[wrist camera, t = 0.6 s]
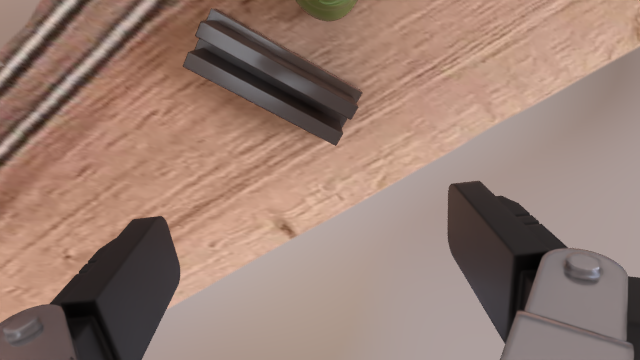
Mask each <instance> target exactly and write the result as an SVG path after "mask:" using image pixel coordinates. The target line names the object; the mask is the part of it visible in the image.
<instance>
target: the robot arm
mask: <svg viewBox="0 0 640 360" xmlns="http://www.w3.org/2000/svg"><path fill="white" fill-rule="evenodd" d="M448 242H449V247H450V250H451V253H452V255H453V257H454V259H455V261H456V262H457V264H458V265H459V267H460V269H461V271H462V272H463V274H464V275H465V277H466V279H467V281H468V282H469V284H470V286H471V288H472V289H473V291H474V293H475V294H476V296H477V298H478V299H479V301H480V302H481V304H482V306H483V308H484V309H485V311H486V312H487V314H488V316H489V318H490V319H491V321H492V323H493V324H494V326H495V328H496V329H497V331H498V333H499V334H500V336H501V338H502V339H503V341H504V343H505V347H504V350H503V353H502V355H501V358H500V360H640V278H636V277H629V276H628V275H627V273H626V271H625V270H624V269H623V267H621V266H620V265H619V264H618V263H617V262H615V261H614V260H612V259H610V258H608V257H606V256H603V255H601V254H598V253H595V252H592V251H588V250H583V249H574V248H568V247H566V246H565V245H564V244H563V243H562V242H561V241H560V240H559V239H558V238H556V237H555V236H554V235H553V234H552V233H551V232H550V231H549V230H547V229H546V228H545V227H544V226H543V225H542V224H539V221H538V220H536V219H535V218H534V217H533V216H532V215H530V214H529V212H527V211H526V210H525V209H524V208H523V207H522V206H521V205H519V203H516V202H514V201H512V200H510V199H507V198H505V197H503V196H495V195H494V194H493V193H492V192H491V191H489V190H488V189H487V188H486V187H485V186H484V185H483V184H482V183H481V182H480V181H472V182H463V183H455V184H451V185H450V186H449V191H448ZM179 280H180V265H179V261H178V257H177V254H176V251H175V247H174V244H173V241H172V237H171V234H170V231H169V228H168V224H167V222H166V220H165V219H164V218H163V217H162V216H158V217H149V218H140V219H134V220H132V221H131V222H130V223H129V224H128V226H127V227H126V228H125V229H124V230H123V231H122V232H121V234H120V235H119V236H118V237H117V238H115V239H114V240H112V241H111V242H109V243H108V244H106V245H105V246H103V247H102V248H100V249H99V250H98V251H97V252H96V253H95V254H94V255H93V257H92V258H91V259H90V260H89V261H88V264H85V265H84V267H83V268H82V269H81V270H80V271H79V274H76V275H75V276H74V278H73V279H72V280H71V281H70V282H69V283H68V284H67V285H66V286H65V287H64V289H63V290H62V291H61V292H60V293H59V294H58V295H57V296H56V297H55V298H54V300H53V301H52V302H51V303H50V304H46V305H40V306H36V307H32V308H29V309H26V310H24V311H21V312H19V313H17V314H15V315H13V316H11V317H9V318H8V319H6V320H4V321H3V322H1V323H0V360H142V358H143V355H144V353H145V351H146V349H147V347H148V345H149V343H150V341H151V339H152V337H153V335H154V333H155V331H156V329H157V327H158V325H159V323H160V321H161V318H162V317H163V315H164V313H165V311H166V309H167V307H168V305H169V303H170V301H171V299H172V297H173V295H174V292H175V290H176V288H177V286H178V284H179Z"/></svg>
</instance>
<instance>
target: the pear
mask: <svg viewBox="0 0 640 360" xmlns="http://www.w3.org/2000/svg"><path fill="white" fill-rule="evenodd" d="M296 1H297V3H298V4H299V5H300V6H301V8H302V9H303V10H305V11H306V12H307V13H308V14H310V15H311V16H313V17H315V18H317V19H319V20H323V21H334V20H338V19H340V18H342V17H344V16H345V15H346V14H348V13H349V12H350V11H351V9H352V8H353V7H354V5H355V4H356V2H357V0H296Z"/></svg>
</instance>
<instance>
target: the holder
mask: <svg viewBox="0 0 640 360" xmlns="http://www.w3.org/2000/svg"><path fill="white" fill-rule="evenodd" d="M195 36H196V37H198V38H199V40H198V43H197V45H196V47H195V50H193V51H190V52H188V54H187V57H186V59H185V62H184V64H183V67H185V68H187V69H189V70H191V71H192V72H194V73H196V74H198V75H200V76H202V77H204V78H206V79H208V80H210V81H212V82H214V83H216V84H218V85H219V86H221V87H223V88H225V89H227V90H229V91H231V92H233V93H235V94H237V95H239V96H241V97H243V98H245V99H246V100H248V101H250V102H252V103H254V104H256V105H258V106H260V107H262V108H264V109H266V110H268V111H270V112H272V113H273V114H275V115H277V116H279V117H281V118H283V119H285V120H287V121H289V122H291V123H293V124H295V125H297V126H299V127H300V128H302V129H304V130H306V131H308V132H310V133H312V134H314V135H316V136H318V137H320V138H322V139H324V140H326V141H327V142H329V143H331V144H333V145H335V146H336V145H337V143H338V142H339V140H340V138H341V136H342V135H343V131H342V127H343V125H344V124H345V122H346V120H347V118H348V119H350V120H351V119H352V117H353V116H354V114H355V112H356V110H357V109H358V105H357V104H356V103H357V101H358V99H359V98H360V96H361V94H362V92H361V90H360V89H358V88H356V87H354V86H353V85H351V84H349V83H347V82H345V81H344V80H342V79H340V78H338V77H336V76H335V75H333V74H331V73H329V72H328V71H326V70H324V69H322V68H320V67H319V66H317V65H315V64H313V63H311V62H310V61H308V60H306V59H304V58H303V57H301V56H299V55H297V54H295V53H294V52H292V51H290V50H288V49H287V48H285V47H283V46H281V45H279V44H278V43H276V42H274V41H272V40H270V39H269V38H267V37H265V36H263V35H262V34H260V33H258V32H256V31H254V30H253V29H251V28H249V27H247V26H246V25H244V24H242V23H240V22H238V21H237V20H235V19H233V18H231V17H229V16H228V15H226V14H224V13H222V12H221V11H219V10H217V9H212V8H211V10H210V13H209V15H208V18H207V20H206V21H201V22H200V25H199V27H198V30H197V32H196V35H195Z"/></svg>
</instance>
